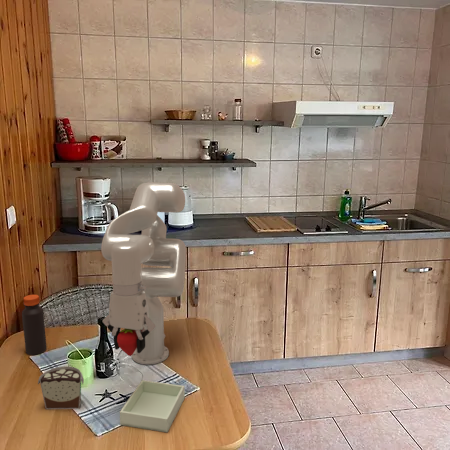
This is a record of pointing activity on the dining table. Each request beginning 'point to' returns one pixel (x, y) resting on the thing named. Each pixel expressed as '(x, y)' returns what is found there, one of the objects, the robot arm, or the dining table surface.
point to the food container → (61, 388)
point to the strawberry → (127, 341)
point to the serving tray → (153, 406)
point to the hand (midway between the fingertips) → (129, 348)
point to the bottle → (33, 326)
